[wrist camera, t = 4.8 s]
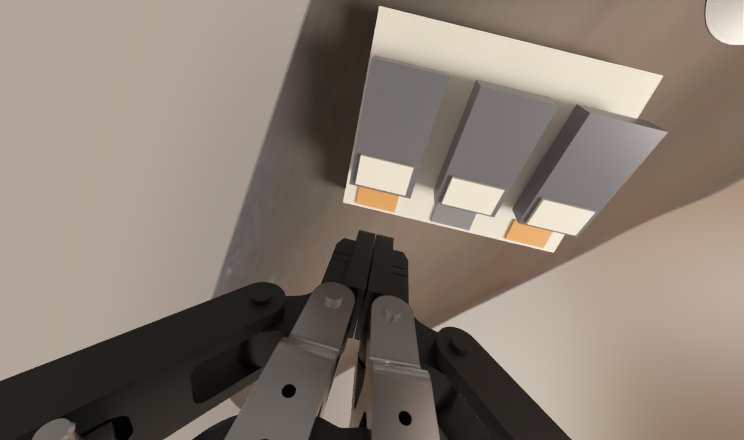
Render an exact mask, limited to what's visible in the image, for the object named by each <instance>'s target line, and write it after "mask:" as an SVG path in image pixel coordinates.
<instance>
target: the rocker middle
mask: <svg viewBox="0 0 744 440" xmlns="http://www.w3.org/2000/svg"><path fill="white" fill-rule="evenodd" d="M558 107H559V105H558V104H557V103H555V102H554V101H553V100H551V99H550V98H549V97H546V96H542V95H538V94H534V93H530V92H526V91H522V90H518V89H514V88H510V87H506V86H502V85H497V84H493V83H489V82H485V81H481V80H477V79H476V81H475V84H474V86H473V89H472V91H471V94H470V97H469V99H468V102H467V104H466V107H465V110H464V112H463V115H462V117H461V120H460V123H459V125H458V128H457V130H456V133H455V136H454V138H453V141H452V143H451V146H450V149H449V151H448V154H447V156H446V159H445V162H444V164H443V167H442V169H441V172H440V175H439V177H438V180H437V182H436V185H435V188H434V190H433V191H434V203H436V204H440V205H444V206H448V207H452V208H456V209H461V210H465V211H469V212H473V213H477V214H481V215H486V216H490V217H495V215H496V214H497V212H498V210H499V208H500V207H501V205H502V203H503V201H504V200H505V198H506V196H507V195H508V193H509V191H510V189H511V188H512V186H513V184H514V183H515V181H516V179H517V177H518V176H519V174H520V172H521V170H522V169H523V167H524V165H525V164H526V162H527V160H528V158H529V157H530V155H531V153H532V152H533V150H534V148H535V146H536V145H537V143H538V141H539V139H540V138H541V136H542V134H543V133H544V131H545V129H546V127H547V126H548V124H549V122H550V120H551V119H552V117H553V115H554V114H555V112H556V110H557V108H558Z"/></svg>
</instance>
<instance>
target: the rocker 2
mask: <svg viewBox="0 0 744 440" xmlns="http://www.w3.org/2000/svg"><path fill="white" fill-rule="evenodd" d="M667 133H668V132H667V131H665V130H663V129H661V128H659V127H658V126H656V125H654V124H652V123H650V122H648V121H645V120H640V119H636V118H632V117H628V116H624V115H620V114H616V113H612V112H608V111H604V110H600V109H595V108H591V107H587V106H583V105H579V104H576V106H575V108H574V109H573V111H572V113H571V114H570V116H569V117H568V119H567V121H566V122H565V124H564V126H563V127H562V129H561V130H560V132H559V134H558V135H557V137H556V139H555V140H554V142H553V143H552V145H551V147H550V148H549V150H548V152H547V153H546V155H545V156H544V158H543V160H542V161H541V163H540V165H539V166H538V168H537V169H536V171H535V173H534V174H533V176H532V178H531V179H530V181H529V182H528V184H527V186H526V187H525V189H524V191H523V192H522V194H521V195H520V197H519V199H518V200H517V202H516V204H515V205H514V207H513V208H512V210H513V213H514V215H515V217H516V220H517V222H518V223H519V224H523V225H527V226H531V227H536V228H540V229H544V230H548V231H552V232H556V233H561V234H565V235H569V236H573V237H577V238H578V237H579V235H580V234H581V233H582V232H583V231H584V230H585V228H586V227H587V226H588V225H589V224H590V223H591V221H592V220H593V219H594V218H595V217H596V216H597V214H598V213H599V212H600V211H601V210H602V209H603V207H604V206H605V205H606V204H607V203H608V202H609V200H610V199H611V198H612V197H613V196H614V195H615V193H616V192H617V191H618V190H619V189H620V188H621V186H622V185H623V184H624V183H625V182H626V181H627V179H628V178H629V177H630V176H631V175H632V174H633V172H634V171H635V170H636V169H637V168H638V167H639V165H640V164H641V163H642V162H643V161H644V160H645V158H646V157H647V156H648V155H649V154H650V153H651V151H652V150H653V149H654V148H655V147H656V146H657V144H658V143H659V142H660V141H661V140H662V138H663V137H664V136H665V135H666V134H667Z"/></svg>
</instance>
